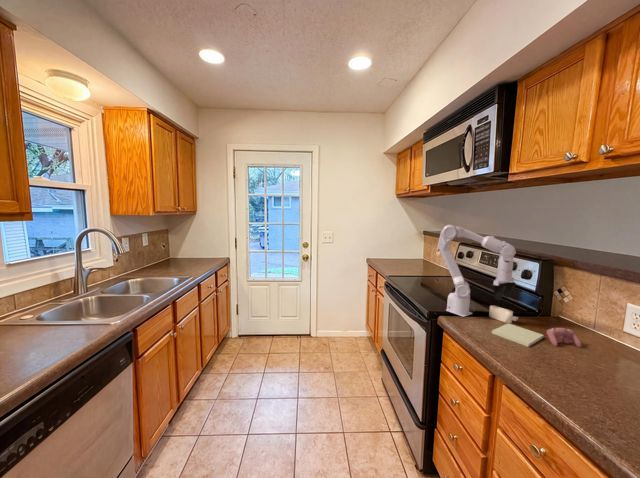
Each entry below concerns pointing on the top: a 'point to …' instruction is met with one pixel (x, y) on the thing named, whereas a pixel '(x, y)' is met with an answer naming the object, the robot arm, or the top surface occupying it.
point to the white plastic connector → (502, 314)
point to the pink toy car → (566, 334)
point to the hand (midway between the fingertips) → (502, 298)
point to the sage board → (518, 334)
